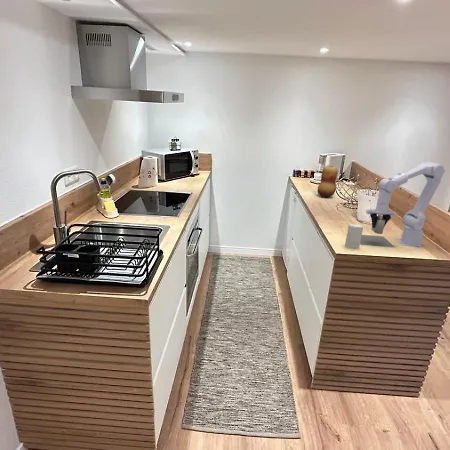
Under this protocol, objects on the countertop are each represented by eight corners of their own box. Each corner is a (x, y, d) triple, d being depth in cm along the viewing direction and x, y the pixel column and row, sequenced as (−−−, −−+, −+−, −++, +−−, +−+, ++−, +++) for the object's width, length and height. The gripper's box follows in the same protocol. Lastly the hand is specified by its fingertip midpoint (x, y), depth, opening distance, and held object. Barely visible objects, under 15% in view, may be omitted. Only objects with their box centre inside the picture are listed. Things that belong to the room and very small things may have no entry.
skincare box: (355, 246, 180) (359, 224, 176) (359, 249, 176) (364, 227, 172) (344, 245, 180) (348, 223, 176) (347, 249, 175) (352, 226, 171)
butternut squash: (321, 199, 270) (326, 167, 262) (313, 194, 282) (318, 164, 274) (337, 199, 273) (343, 167, 265) (329, 194, 286) (334, 164, 277)
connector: (377, 228, 186) (381, 213, 183) (383, 234, 178) (387, 218, 175) (370, 228, 186) (373, 213, 183) (375, 233, 178) (379, 217, 175)
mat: (383, 237, 197) (383, 236, 196) (395, 248, 181) (395, 247, 181) (351, 234, 197) (351, 234, 197) (360, 245, 182) (360, 244, 181)
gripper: (394, 201, 180) (388, 226, 185) (366, 199, 181) (361, 224, 185) (400, 205, 174) (394, 230, 178) (371, 203, 174) (365, 228, 178)
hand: (377, 227), depth 181 cm, fingers closed on connector, 4 cm apart
